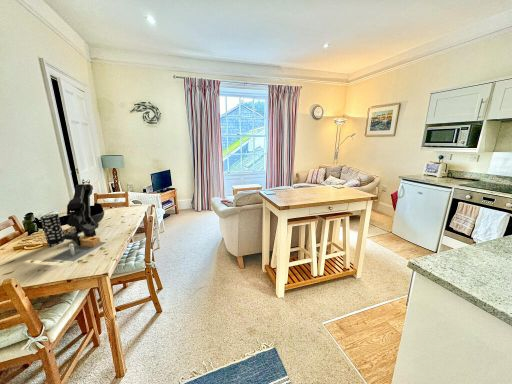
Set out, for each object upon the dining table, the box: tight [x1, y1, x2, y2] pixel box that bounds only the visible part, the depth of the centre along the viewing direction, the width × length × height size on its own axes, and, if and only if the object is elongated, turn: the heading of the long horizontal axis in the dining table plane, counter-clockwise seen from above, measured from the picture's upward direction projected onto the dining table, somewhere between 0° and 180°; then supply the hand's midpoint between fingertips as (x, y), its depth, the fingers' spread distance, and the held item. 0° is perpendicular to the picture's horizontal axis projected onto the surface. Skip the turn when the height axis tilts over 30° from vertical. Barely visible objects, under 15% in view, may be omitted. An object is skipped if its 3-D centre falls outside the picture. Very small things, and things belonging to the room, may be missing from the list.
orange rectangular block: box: [79, 235, 102, 247], centre depth 135 cm, size 12×5×4 cm, turn 81°
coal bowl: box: [73, 202, 105, 225], centre depth 167 cm, size 20×20×19 cm
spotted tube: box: [39, 213, 66, 248], centre depth 136 cm, size 8×8×20 cm
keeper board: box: [50, 241, 107, 262], centre depth 128 cm, size 16×22×9 cm
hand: (84, 243), depth 136 cm, fingers open, 6 cm apart
